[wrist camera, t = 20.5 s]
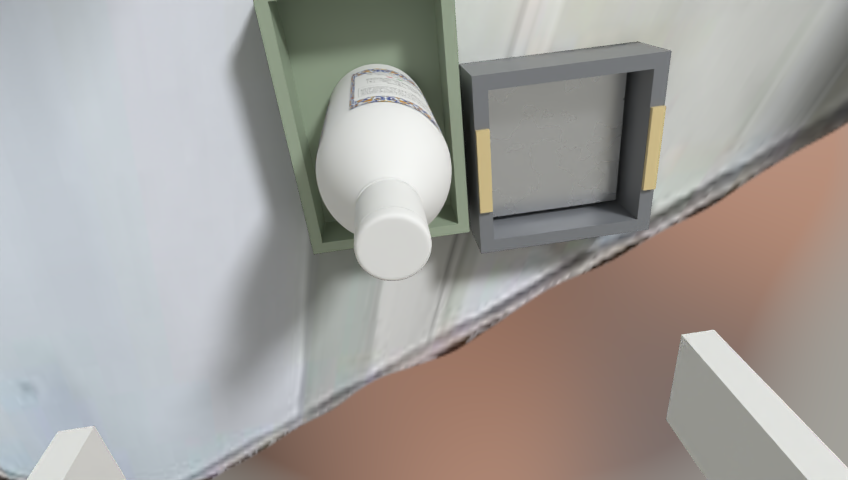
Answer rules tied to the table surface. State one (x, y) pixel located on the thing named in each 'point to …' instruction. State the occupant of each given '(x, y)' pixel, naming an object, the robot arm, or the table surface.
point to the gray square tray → (636, 145)
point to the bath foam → (383, 169)
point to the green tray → (345, 51)
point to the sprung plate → (555, 143)
